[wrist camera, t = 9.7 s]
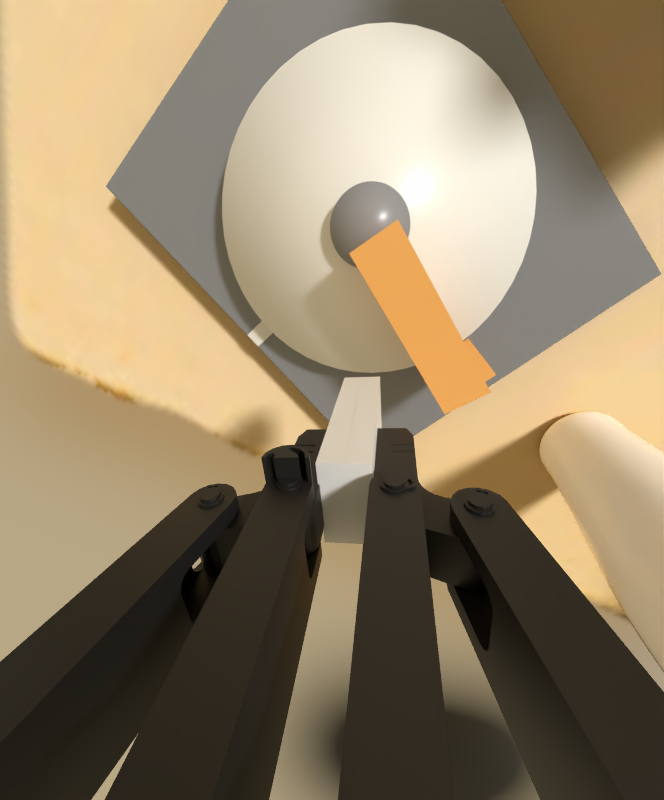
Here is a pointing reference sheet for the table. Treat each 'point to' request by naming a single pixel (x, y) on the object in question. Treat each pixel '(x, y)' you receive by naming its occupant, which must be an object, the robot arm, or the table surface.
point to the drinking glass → (615, 510)
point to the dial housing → (555, 182)
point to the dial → (381, 203)
